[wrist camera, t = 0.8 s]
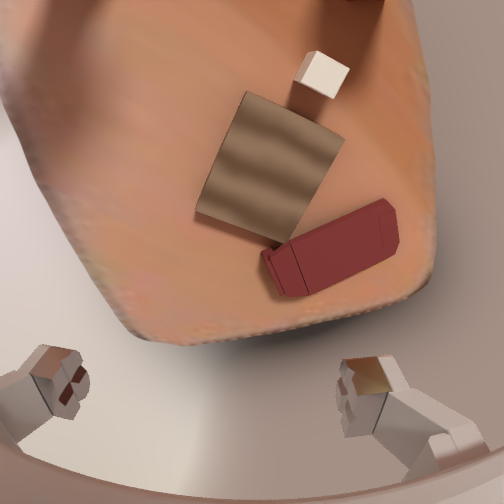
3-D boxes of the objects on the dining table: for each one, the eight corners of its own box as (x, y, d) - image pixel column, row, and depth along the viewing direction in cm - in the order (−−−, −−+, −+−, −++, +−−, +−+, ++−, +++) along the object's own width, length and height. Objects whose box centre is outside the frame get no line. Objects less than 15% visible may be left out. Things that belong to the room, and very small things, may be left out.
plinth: (246, 90, 42) (246, 92, 40) (339, 135, 46) (345, 139, 44) (197, 202, 52) (195, 210, 49) (283, 235, 56) (285, 244, 54)
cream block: (307, 52, 39) (317, 50, 34) (336, 67, 40) (349, 68, 35) (293, 79, 41) (300, 81, 36) (322, 94, 43) (333, 99, 38)
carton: (379, 188, 55) (257, 242, 56) (393, 198, 51) (263, 257, 52) (388, 239, 62) (278, 290, 63) (400, 251, 57) (285, 306, 58)
